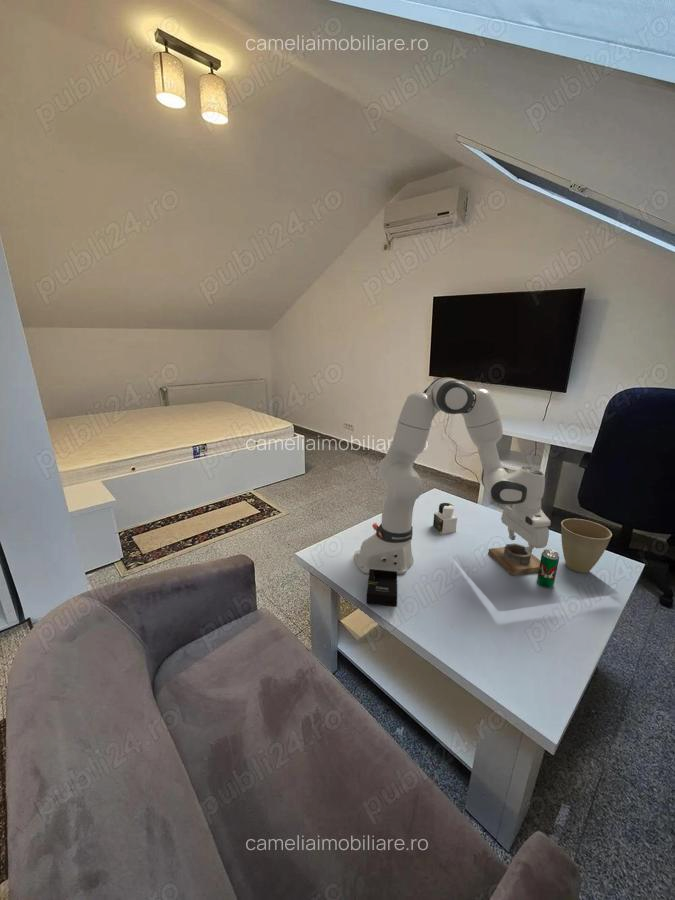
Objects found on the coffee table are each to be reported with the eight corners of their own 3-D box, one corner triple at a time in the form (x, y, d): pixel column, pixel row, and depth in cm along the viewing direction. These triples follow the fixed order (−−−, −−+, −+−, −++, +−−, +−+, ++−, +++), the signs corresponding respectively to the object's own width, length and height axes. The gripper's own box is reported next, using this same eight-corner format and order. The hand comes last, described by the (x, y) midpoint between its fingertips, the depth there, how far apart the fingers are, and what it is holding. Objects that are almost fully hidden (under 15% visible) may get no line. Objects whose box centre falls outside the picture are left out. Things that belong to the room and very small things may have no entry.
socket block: (511, 575, 127) (513, 563, 125) (488, 553, 140) (489, 541, 138) (546, 570, 129) (548, 558, 128) (520, 549, 142) (522, 538, 141)
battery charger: (396, 607, 112) (397, 596, 110) (366, 604, 113) (366, 593, 112) (396, 581, 124) (397, 571, 123) (369, 578, 125) (369, 568, 124)
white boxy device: (432, 527, 159) (434, 502, 156) (446, 524, 161) (448, 500, 158) (441, 534, 153) (444, 509, 149) (456, 532, 155) (458, 507, 151)
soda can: (553, 582, 123) (559, 551, 120) (553, 590, 119) (559, 558, 116) (537, 577, 126) (542, 547, 122) (536, 585, 121) (542, 554, 118)
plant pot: (601, 563, 133) (610, 525, 129) (602, 585, 122) (613, 543, 117) (555, 550, 141) (562, 514, 137) (552, 570, 130) (560, 530, 125)
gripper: (499, 499, 137) (494, 532, 141) (538, 525, 118) (531, 562, 122) (514, 498, 138) (509, 530, 142) (554, 524, 119) (547, 560, 123)
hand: (519, 545), depth 132 cm, fingers open, 8 cm apart
